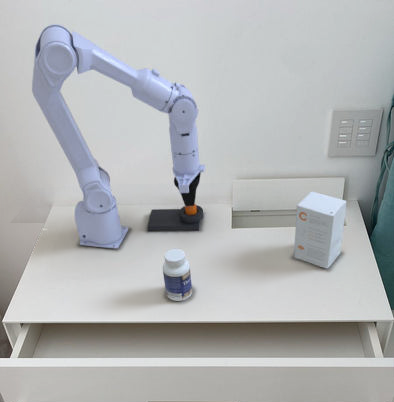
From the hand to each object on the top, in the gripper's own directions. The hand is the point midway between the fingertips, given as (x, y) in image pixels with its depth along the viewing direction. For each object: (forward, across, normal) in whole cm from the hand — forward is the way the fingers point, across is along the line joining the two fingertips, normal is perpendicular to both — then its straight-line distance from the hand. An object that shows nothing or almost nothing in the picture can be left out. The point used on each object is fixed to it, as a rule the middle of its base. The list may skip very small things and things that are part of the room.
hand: (189, 204), depth 131 cm
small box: (+5, -13, -28) cm, 31 cm away
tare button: (+3, 0, 0) cm, 3 cm away
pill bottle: (+5, -25, 0) cm, 26 cm away
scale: (+5, 0, +4) cm, 6 cm away
